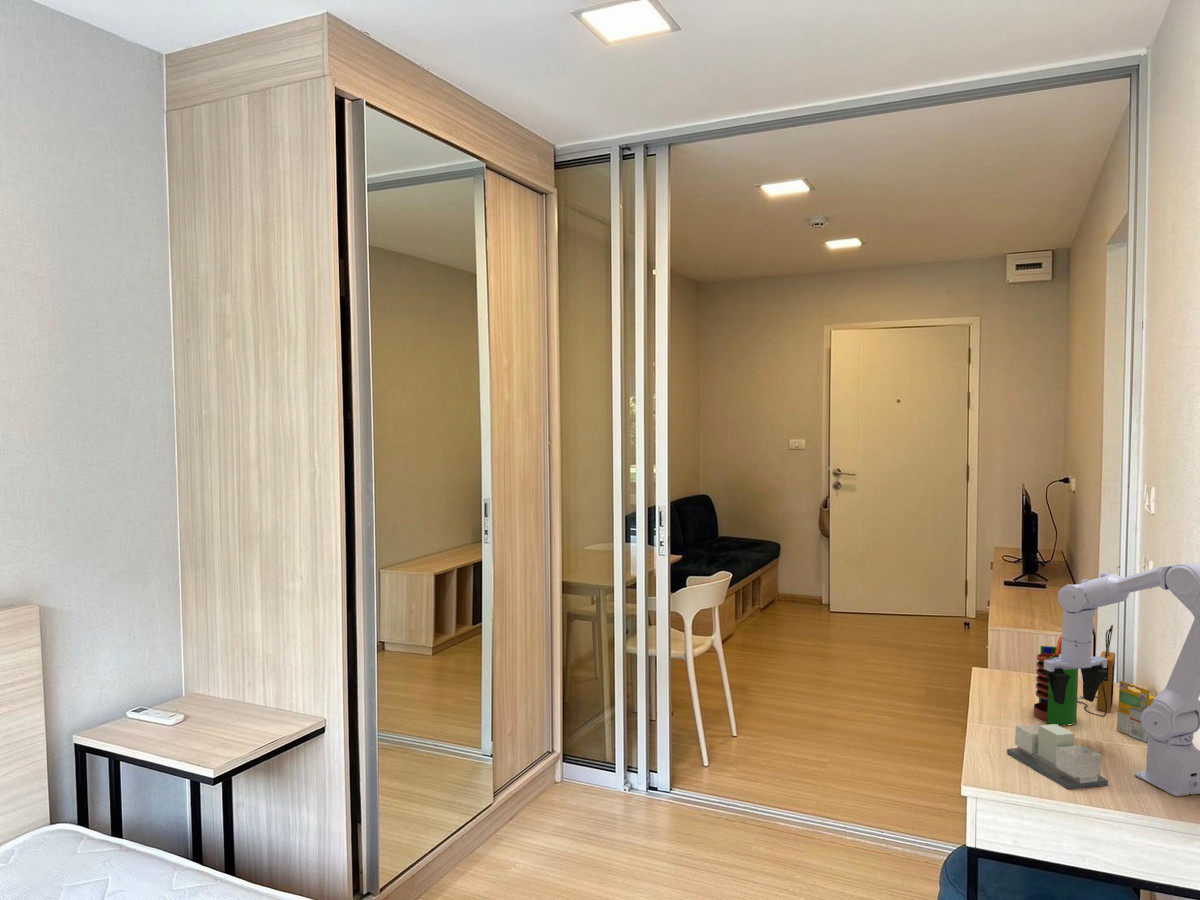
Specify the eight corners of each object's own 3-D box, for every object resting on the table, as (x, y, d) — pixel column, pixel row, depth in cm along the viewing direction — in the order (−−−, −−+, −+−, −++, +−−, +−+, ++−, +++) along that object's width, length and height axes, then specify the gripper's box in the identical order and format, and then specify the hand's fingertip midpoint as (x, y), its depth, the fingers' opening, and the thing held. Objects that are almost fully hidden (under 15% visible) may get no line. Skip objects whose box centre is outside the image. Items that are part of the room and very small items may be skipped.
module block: (1072, 762, 173) (1074, 733, 172) (1055, 764, 172) (1057, 735, 171) (1054, 752, 177) (1055, 724, 177) (1037, 754, 176) (1039, 725, 176)
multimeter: (1069, 692, 221) (1073, 615, 220) (1114, 700, 215) (1118, 621, 214) (1060, 708, 209) (1064, 627, 208) (1107, 718, 203) (1112, 634, 202)
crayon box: (1156, 741, 190) (1159, 689, 189) (1146, 743, 188) (1149, 690, 188) (1125, 729, 196) (1128, 679, 196) (1116, 730, 195) (1118, 680, 195)
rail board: (1107, 785, 167) (1109, 754, 167) (1068, 789, 165) (1070, 758, 165) (1043, 750, 184) (1044, 722, 183) (1007, 753, 182) (1008, 725, 181)
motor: (1025, 709, 208) (1029, 627, 207) (1062, 710, 208) (1067, 628, 206) (1045, 725, 198) (1049, 639, 196) (1085, 726, 197) (1089, 640, 196)
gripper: (1090, 632, 191) (1087, 692, 192) (1034, 636, 188) (1031, 697, 189) (1116, 641, 184) (1113, 704, 185) (1059, 645, 181) (1055, 708, 182)
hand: (1073, 701), depth 187 cm, fingers open, 7 cm apart
